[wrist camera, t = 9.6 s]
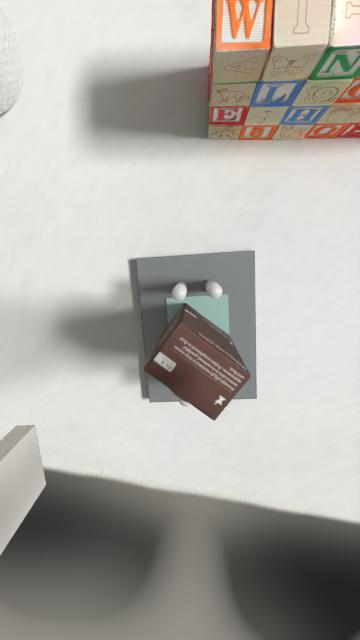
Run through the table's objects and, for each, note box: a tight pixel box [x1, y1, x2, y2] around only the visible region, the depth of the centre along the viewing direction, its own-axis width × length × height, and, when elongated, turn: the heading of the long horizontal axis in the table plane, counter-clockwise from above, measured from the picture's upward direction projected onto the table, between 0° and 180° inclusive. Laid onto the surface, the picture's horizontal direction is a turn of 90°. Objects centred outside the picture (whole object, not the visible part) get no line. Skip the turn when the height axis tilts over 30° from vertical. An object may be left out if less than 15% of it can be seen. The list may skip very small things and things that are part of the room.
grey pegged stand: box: [136, 251, 257, 406], centre depth 28 cm, size 12×16×7 cm
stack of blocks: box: [207, 0, 360, 140], centre depth 21 cm, size 21×6×12 cm, turn 89°
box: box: [144, 303, 251, 420], centre depth 24 cm, size 6×4×12 cm
